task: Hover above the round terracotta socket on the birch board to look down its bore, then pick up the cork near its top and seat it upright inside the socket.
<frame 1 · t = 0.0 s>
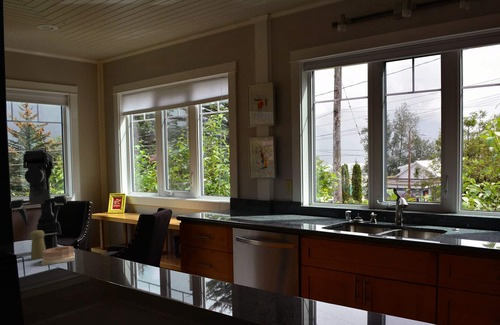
hand: (41, 224, 160), 15 cm above the countertop, tool pointing down, fingers open, 9 cm apart
cork: (39, 258, 172), on the countertop
socket board: (59, 260, 164), on the countertop
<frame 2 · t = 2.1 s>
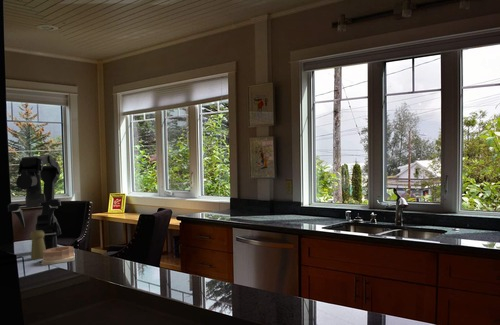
hand: (36, 226, 172), 13 cm above the countertop, tool pointing down, fingers open, 9 cm apart
nothing on the countertop moved.
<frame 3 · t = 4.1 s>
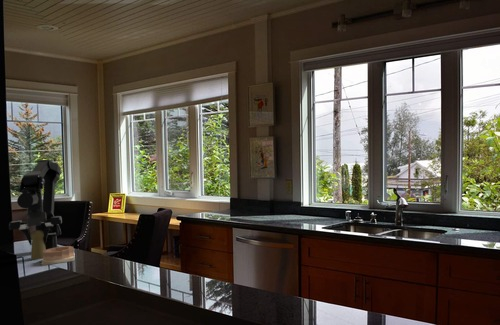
hand: (38, 244, 172), 6 cm above the countertop, tool pointing down, fingers closed on cork, 5 cm apart
cork: (39, 258, 172), on the countertop, touching gripper
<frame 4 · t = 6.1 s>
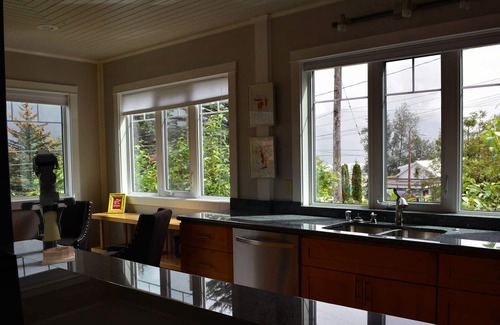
hand: (50, 225, 166), 13 cm above the countertop, tool pointing down, fingers closed on cork, 5 cm apart
cork: (52, 240, 166), point 8 cm above the countertop, touching gripper
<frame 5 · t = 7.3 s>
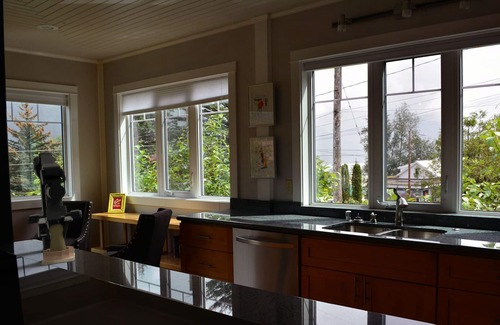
hand: (57, 238, 164), 8 cm above the countertop, tool pointing down, fingers closed on cork, 5 cm apart
cork: (58, 253, 164), point 3 cm above the countertop, touching gripper
when the fingers open (8 cm above the countertop, at t = 8.1 s): cork drops 1 cm, resting on socket board.
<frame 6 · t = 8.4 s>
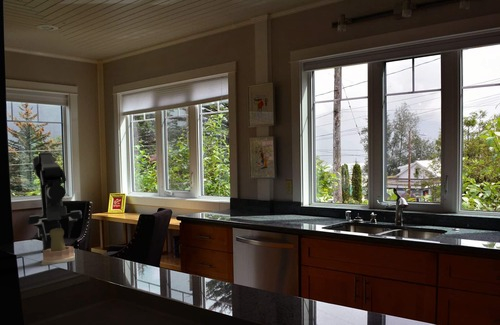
hand: (57, 239, 164), 8 cm above the countertop, tool pointing down, fingers open, 8 cm apart
cork: (58, 257, 164), point 1 cm above the countertop, touching socket board
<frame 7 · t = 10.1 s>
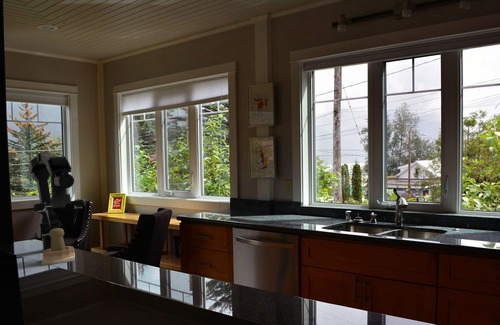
hand: (61, 226, 172), 12 cm above the countertop, tool pointing down, fingers open, 9 cm apart
nothing on the countertop moved.
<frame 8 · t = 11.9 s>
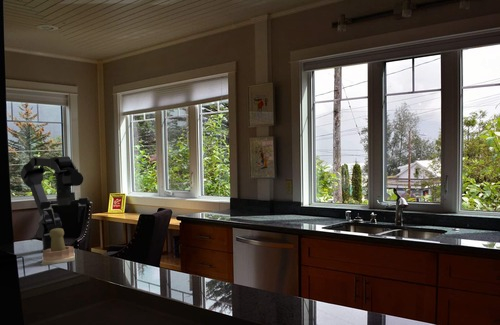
hand: (66, 223, 178), 12 cm above the countertop, tool pointing down, fingers open, 9 cm apart
nothing on the countertop moved.
at the end: cork 0.1 cm off-centre on the socket board, point 1.0 cm above the socket board's base; cork tilted 0°; the gripper is holding nothing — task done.
